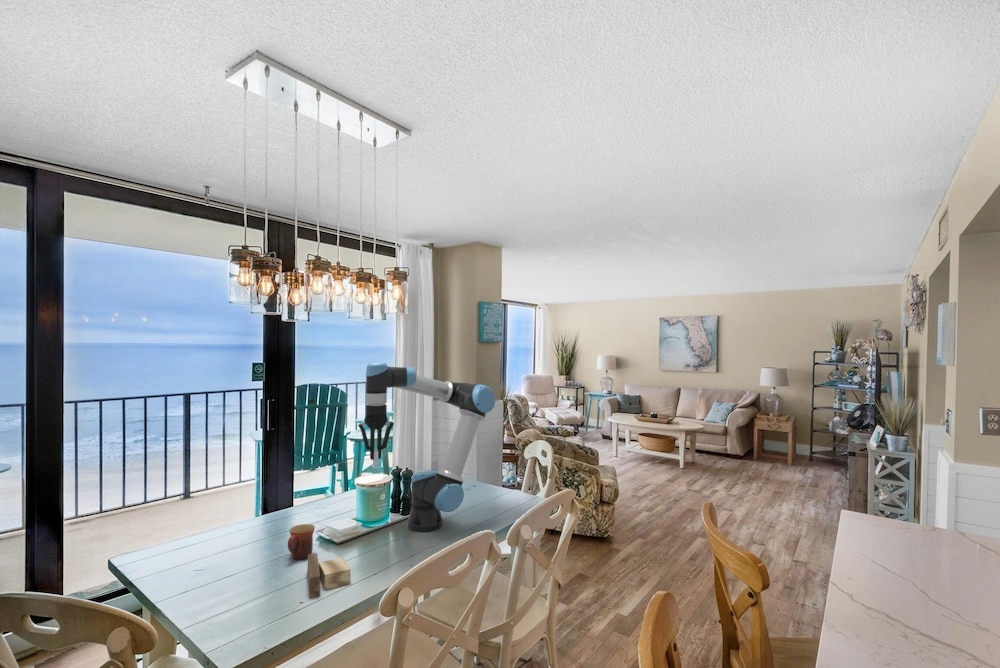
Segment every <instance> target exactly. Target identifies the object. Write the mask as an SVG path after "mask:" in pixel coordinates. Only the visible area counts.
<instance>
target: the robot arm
mask: <svg viewBox="0 0 1000 668" xmlns="http://www.w3.org/2000/svg"><path fill="white" fill-rule="evenodd" d="M365 372H366V373H365V386H366V387H365V388H366V389H365V404H366V405H365V417H364V419H363V421H362V422H361V423H358V425H357V427H358V428H359V429H360V431H361V437H362V439H363V444H364V447H365V449H366V450H367V451H369V458H370V460H371V461H372V468H373V470H378V469H379V460H381V459H382V450H383V449H387V446H388V442H389V438H390V434H391V431H392V428H393V427H394V425H395V424H394V422H393V421H390V420H389V419H388V416H387V410H388V409H387V402H388V400H387V399H388V398H387V396H388V388H389V389H390V388H395V389H400V390H404V391H407V392H412V393H416V394H420V395H424V396H427V397H432V398H436V399H439V400H440V402H442V403H446V404H448V405H452V406H455V407H457V408H459V409H458V410H459V414H460V415H459V419H458V423H457V425H456V428H455V430H454V434H453V436H452V440H451V442H450V445H449V448H448V451H447V453H446V457H445V459H444V462H443V464H442V468H441V469H440V470H439V471H438V470H422V471H417V472H415V473H413V474H412V477H411V509H410V512H409V515H408V518H407V524H406V526H407V529H408V530H410V531H411V532H418V533H428V532H434V531H437V530H439V529H441V528H442V527H443V523H444V522H443V517H442V513H441V512H444V513H451V512H454V511H456V510H457V509H458V508H459V507H460V506H461V504H462V503H463V501H464V498H465V492H464V489H463V487H462V486H463V483H464V479H463V477H462V475H463V471H464V469H465V466H466V463H467V460H468V456H469V454H470V451H471V448H472V445H473V443H474V439H475V436H476V434H477V430H478V428H479V424H480V422H481V421H482V420H485V417H486V414H488V413H490V412H491V411H492V410H493V409H494V408H495V406H496V395H495V394H494V391H493V389H492V388H491V387H490V386H488V385H485V384H481V383H478V384H477V383H468V382H453V381H449V380H446V381H442V380H437V379H433V378H430V377H428V376H427V377H426V376H423V375H420V374H417V373H416V370H415V368H413V367H412V366H411V367H410V366H409V367H408V366H404V367H398V366H388V364H387V363H386V362H369V363H368V364H367V365H366V370H365ZM385 425H386V428H385V432H384V435H383V437H382V431H383V428H384V427H385ZM366 426H367V427H368V429H369V431H370V432H369V433H370V435H369V440H368V437H367V432H366V429H365V428H366ZM376 431H377V432H376ZM375 434H377V435H376V436H375ZM375 437H376V449H375ZM382 438H383V441H382Z"/></svg>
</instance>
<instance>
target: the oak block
mask: <svg viewBox="0 0 1000 668" xmlns="http://www.w3.org/2000/svg"><path fill="white" fill-rule="evenodd" d="M318 564H319V571H320V584H322V585H321V586H322V587H323V589H324V590H331V589H334V588H338V587H343V586H346V585H350V584H351V568H350V566H349V564H348V562H347V561H346V559H345V558H344V557H343V556H342V557H339V558H333V559H329V560H324V561H320V562H319V561H318Z"/></svg>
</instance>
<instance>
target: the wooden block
mask: <svg viewBox="0 0 1000 668" xmlns="http://www.w3.org/2000/svg"><path fill="white" fill-rule="evenodd" d="M318 556H319V555H318V552H316V553H312V554H308V558H307V584H308V596H309V599H311V598H316V597H320V596H321V581H320V571H319V557H318Z"/></svg>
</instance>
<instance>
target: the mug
mask: <svg viewBox="0 0 1000 668" xmlns="http://www.w3.org/2000/svg"><path fill="white" fill-rule="evenodd" d="M315 528H316V525H314V524H311V523H305V524H304V523H302V524H298V525H294V526H291V527H290V528H289V535H290V536H289V538H288V540H287V549H288V551H289V553H290V556H291V558H292V559H293V560H297V561H301V560H305V559H308V554H313V548H314V547H313V545H314V544H313V543H314V542H313V535H314V532H315Z"/></svg>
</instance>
